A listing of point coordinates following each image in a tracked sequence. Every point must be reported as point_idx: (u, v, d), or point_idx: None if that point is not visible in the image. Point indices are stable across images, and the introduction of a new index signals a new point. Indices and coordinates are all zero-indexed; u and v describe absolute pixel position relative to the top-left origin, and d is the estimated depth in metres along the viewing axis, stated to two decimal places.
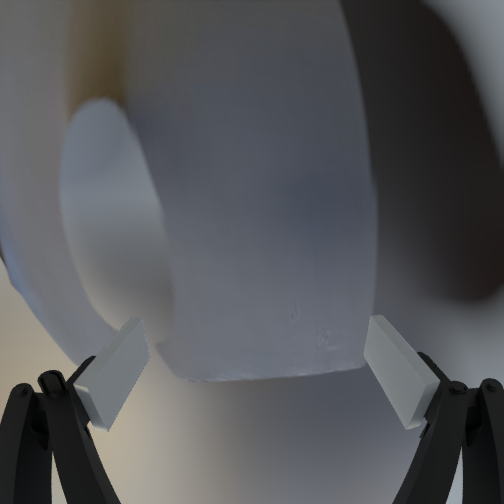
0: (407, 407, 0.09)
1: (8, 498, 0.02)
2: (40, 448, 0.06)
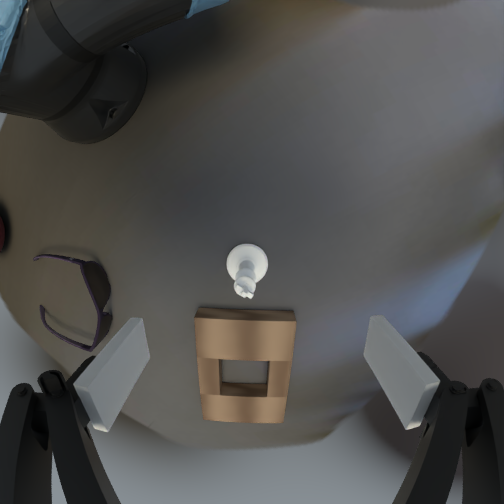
0: (407, 407, 0.09)
1: (8, 498, 0.02)
2: (40, 448, 0.06)
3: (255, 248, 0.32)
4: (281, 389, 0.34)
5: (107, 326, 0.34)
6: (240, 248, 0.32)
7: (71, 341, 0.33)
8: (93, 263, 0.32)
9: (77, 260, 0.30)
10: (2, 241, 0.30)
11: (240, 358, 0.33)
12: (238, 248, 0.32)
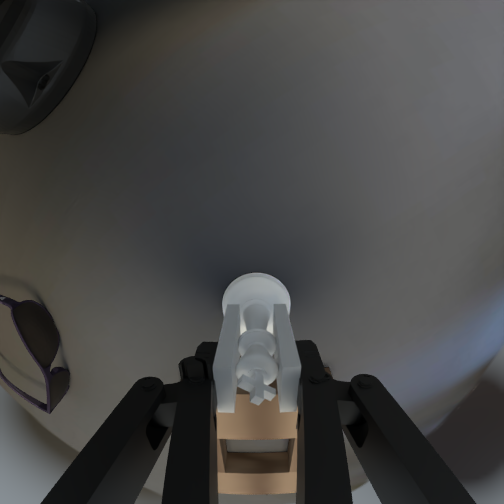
0: (279, 390, 0.11)
1: (83, 496, 0.04)
2: (149, 448, 0.07)
3: (269, 281, 0.19)
4: None
5: (62, 385, 0.20)
6: (244, 282, 0.19)
7: (27, 397, 0.20)
8: (30, 303, 0.19)
9: (8, 301, 0.17)
10: None
11: (252, 438, 0.19)
12: (240, 282, 0.19)
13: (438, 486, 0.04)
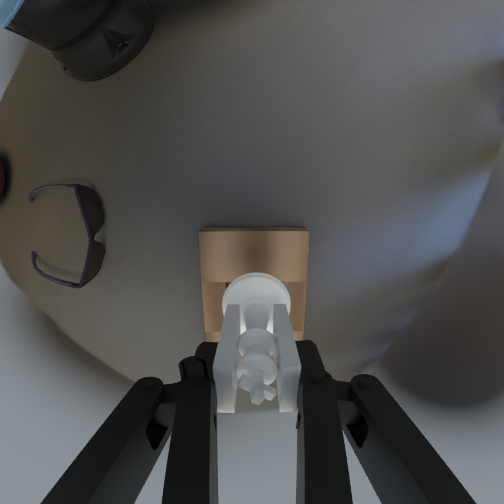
0: (279, 389, 0.11)
1: (83, 496, 0.04)
2: (149, 448, 0.07)
3: (269, 281, 0.19)
4: (297, 320, 0.32)
5: (99, 257, 0.32)
6: (244, 282, 0.19)
7: (60, 281, 0.31)
8: (88, 188, 0.30)
9: (72, 184, 0.28)
10: (1, 186, 0.28)
11: None
12: (240, 282, 0.19)
13: (438, 486, 0.04)
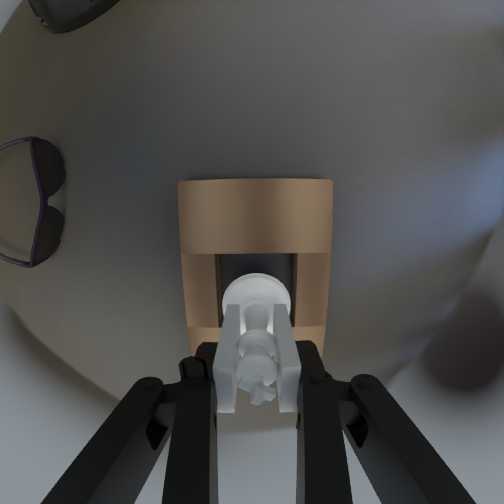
0: (279, 389, 0.11)
1: (83, 496, 0.04)
2: (149, 448, 0.07)
3: (269, 281, 0.19)
4: (317, 310, 0.23)
5: (54, 227, 0.22)
6: (244, 283, 0.19)
7: (14, 260, 0.22)
8: (48, 143, 0.21)
9: (29, 137, 0.19)
10: None
11: (250, 250, 0.22)
12: (240, 283, 0.19)
13: (438, 486, 0.04)
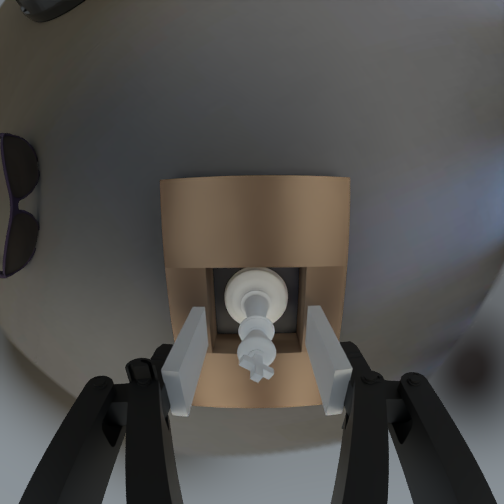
0: (326, 393, 0.11)
1: (53, 494, 0.03)
2: (107, 445, 0.07)
3: (268, 274, 0.20)
4: None
5: (27, 234, 0.18)
6: (245, 275, 0.20)
7: None
8: (21, 140, 0.17)
9: (2, 133, 0.15)
10: None
11: (249, 263, 0.18)
12: (241, 275, 0.20)
13: (467, 484, 0.03)
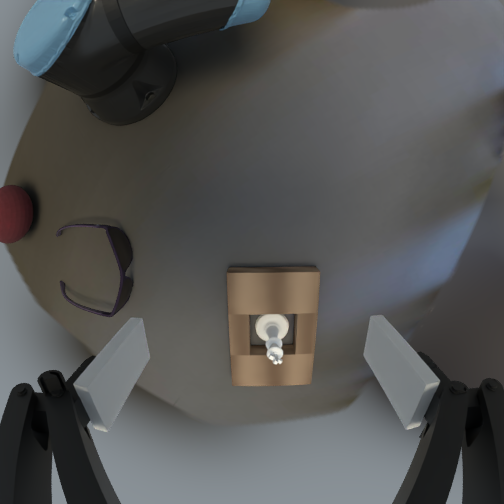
0: (407, 407, 0.09)
1: (8, 498, 0.02)
2: (40, 448, 0.06)
3: (278, 315, 0.39)
4: (308, 344, 0.37)
5: (128, 290, 0.37)
6: (266, 315, 0.39)
7: (91, 310, 0.37)
8: (117, 229, 0.36)
9: (103, 225, 0.34)
10: (31, 220, 0.35)
11: (270, 312, 0.36)
12: (265, 315, 0.39)
13: None
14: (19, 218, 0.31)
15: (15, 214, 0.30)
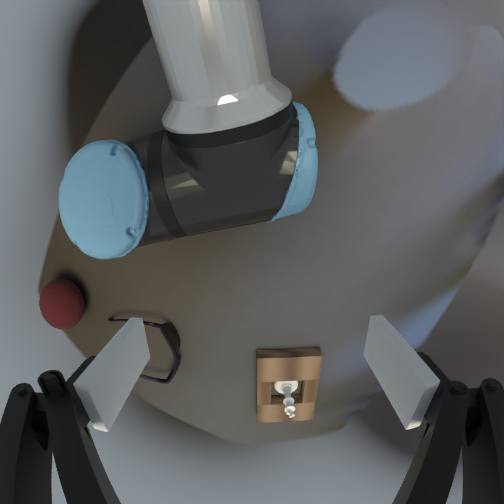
0: (407, 407, 0.09)
1: (8, 498, 0.02)
2: (40, 448, 0.06)
3: None
4: (311, 397, 0.50)
5: None
6: None
7: (148, 377, 0.49)
8: (167, 324, 0.48)
9: (157, 324, 0.46)
10: None
11: (286, 380, 0.48)
12: None
13: None
14: (76, 313, 0.43)
15: (73, 311, 0.42)
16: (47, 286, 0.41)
